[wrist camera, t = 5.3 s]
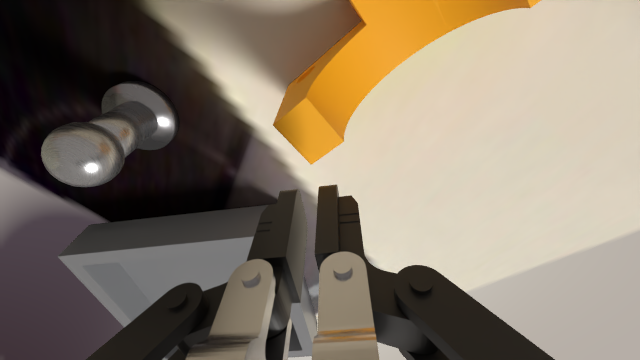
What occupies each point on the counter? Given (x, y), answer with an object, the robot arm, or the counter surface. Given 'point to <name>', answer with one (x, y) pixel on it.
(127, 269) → the parts bin
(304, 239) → the robot arm
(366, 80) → the pipe clamp
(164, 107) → the door knob
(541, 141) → the counter surface
